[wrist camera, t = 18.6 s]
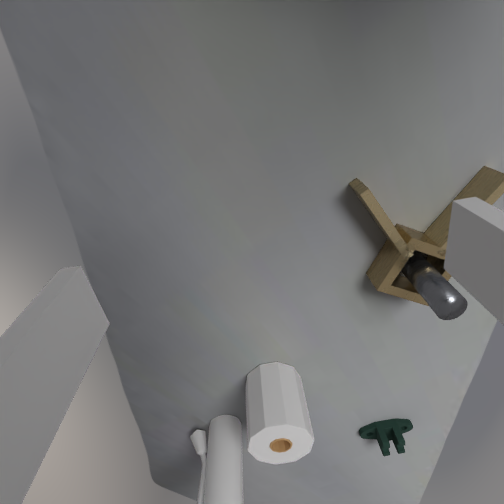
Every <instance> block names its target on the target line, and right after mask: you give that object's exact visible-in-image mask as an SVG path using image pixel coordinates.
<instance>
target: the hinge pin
mask: <svg viewBox="0 0 504 504" xmlns="http://www.w3.org/2000/svg"><path fill="white" fill-rule="evenodd" d="M401 272H402V273H403V274H404V275H405V277H406V278H407V279H408V280H409V281H410V283H411V284H412V285H413V286H414V288H415V289H416V290H417V291H418V293H419V294H420V295H421V296H422V297H423V299H424V300H425V301H426V302H427V304H428V305H429V306H430V307H431V309H432V310H433V311H434V312H435V313H436V315H437V316H438V317H439V318H440V319H443V320H451V319H455V318H457V317H459V316H460V315H461V314H463V313H464V311H465V310H466V308H467V301H466V299H465V298H464V297H463V296H462V295H461V294H460V293H459V292H458V291H457V290H456V289H455V288H454V287H453V286H452V285H451V284H450V283H449V282H448V281H447V280H446V279H445V278H444V277H443V276H442V275H441V274H440V273H439V272H438V271H437V270H436V269H435V268H434V267H433V266H432V265H431V264H430V263H429V262H428V261H427V260H426V259H425V258H424V257H423V256H422V255H421V254H420V253H419V252H418V251H417V250H414V252H413V256H411V257H410V258H409V259H408V261H407V262H406V264H405V265H404V267H403V268H402V270H401Z"/></svg>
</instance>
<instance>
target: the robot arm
mask: <svg viewBox="0 0 504 504" xmlns="http://www.w3.org/2000/svg"><path fill="white" fill-rule="evenodd" d="M444 269H445V270H446V271H447V272H448V273H449V274H450V275H451V276H452V277H453V278H454V279H455V280H456V281H457V282H459V283H460V284H461V285H462V286H463V287H464V288H465V289H466V290H467V291H468V292H469V293H470V294H471V295H472V296H473V297H474V298H475V299H476V300H477V301H479V302H480V303H481V304H482V305H483V306H484V307H485V308H486V309H487V310H488V311H489V312H490V313H491V314H492V315H493V316H494V317H495V318H496V319H497V320H499V321H500V322H501V323H502V324H503V325H504V211H502V210H500V209H498V208H496V207H494V206H492V205H490V204H489V203H487V202H485V201H483V200H481V199H479V198H477V197H471V198H465V199H459V200H454V201H453V203H452V211H451V218H450V225H449V233H448V240H447V247H446V255H445V262H444ZM109 324H110V323H109V321H108V319H107V317H106V315H105V313H104V311H103V309H102V307H101V305H100V303H99V301H98V299H97V297H96V295H95V293H94V291H93V289H92V287H91V285H90V283H89V281H88V279H87V277H86V275H85V273H84V271H83V269H82V267H81V265H79V266H73V267H68V268H62V269H59V270H58V272H57V273H56V274H55V275H54V277H52V279H51V280H50V281H49V282H48V283H47V284H46V285H45V287H44V288H43V289H42V290H41V291H40V292H39V293H38V295H37V296H36V297H35V298H34V299H33V300H32V302H31V303H30V304H29V305H28V306H27V307H26V308H25V310H24V311H23V312H22V313H21V314H20V315H19V316H18V317H17V319H16V320H15V321H14V322H13V323H12V325H11V326H10V327H9V328H8V329H7V330H6V331H5V332H4V334H3V335H2V336H1V337H0V504H22V502H23V500H24V498H25V496H26V494H27V492H28V490H29V488H30V486H31V484H32V482H33V480H34V477H35V476H36V474H37V471H38V469H39V467H40V465H41V463H42V461H43V459H44V457H45V455H46V453H47V451H48V449H49V447H50V445H51V443H52V441H53V439H54V437H55V435H56V432H57V430H58V428H59V426H60V424H61V422H62V420H63V418H64V416H65V414H66V412H67V410H68V408H69V406H70V404H71V402H72V400H73V398H74V396H75V394H76V392H77V390H78V388H79V385H80V383H81V381H82V379H83V377H84V375H85V373H86V371H87V369H88V367H89V365H90V363H91V361H92V359H93V357H94V355H95V353H96V351H97V349H98V346H99V344H100V342H101V340H102V338H103V336H104V334H105V332H106V330H107V328H108V326H109Z"/></svg>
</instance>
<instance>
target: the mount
mask: <svg viewBox="0 0 504 504" xmlns="http://www.w3.org/2000/svg"><path fill="white" fill-rule="evenodd" d="M412 428H413V425H412V423H411V421H410V420H408V419H389V420H384V421H378V422H374V423H371V424H369V425H366V426H364V427H362V428H360V429H359V433H360V436H361V438H363V439H377V441H378V443H379V446H380V448H381V451H382V454H383V456H388V455H390V452H389V448H390V444H389V440H393V443H394V445H395V447H396V450H397V452H398V454H400V453H405V449H404V445H405V440H404V438H403V436H402V434H403V433H405V432H408V431H410V430H411V429H412Z"/></svg>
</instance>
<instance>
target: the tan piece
mask: <svg viewBox="0 0 504 504" xmlns="http://www.w3.org/2000/svg"><path fill="white" fill-rule="evenodd" d="M349 185H350V186H351V187H352V189H353V190H354V192H355V193H356V195H357V196H358V197H359V199H360V200H361V202H362V203H363V205H364V206H365V207H366V209H367V210H368V212H369V213H370V215H371V216H372V217H373V219H374V220H375V222H376V223H377V225H378V226H379V227H380V229H381V230H382V232H383V233H384V235H385V236H386V237H387V240H386V242H385V244H384V245H383V247H382V248H381V250H380V252H379V253H378V255H377V256H376V258H375V260H374V261H373V263H372V264H371V266H370V268H369V269H368V271H367V272H366V274H367V276H368V277H369V279H370V280H371V282H372V283H373V285H374V287H375V288H376V290H377V291H380V292H384V293H387V294H390V295H394V296H397V297H400V298H403V299H407V300H410V301H413V302H417V303H420V304H423V305H427V306H429V305H428V304H427V302H426V301H425V300H424V299H423V297H422V296H421V295H420V294H419V293H418V291H417V290H416V289H415V288H414V286H413V285H412V284H411V283H410V281H409V280H408V279H407V278H406V277H404V276H401V275H398V274H399V272H400V271H401V270H402V268H403V267H404V265H405V264H406V262H407V261H408V259H409V258H410V257H411V256H413V252H414V250H417V251H420V252H423V253H426V254H429V255H428V256H427V258H426V260H427V261H428V262H429V263H430V264H431V265H432V266H433V267H434V268H435V269H436V270H437V271H438V272H439V273H440V274H441V275H442V276H443V277H444V278H445V279H446V280H447V281H448V280H449V279H450V278H451V275H450V274H449V273H448V272H447V271H446V270H445V269H444V262H445V255H446V247H447V240H448V233H449V225H450V218H451V211H452V203H453V201H454V200H459V199H465V198H471V197H477V198H479V199H481V200H483V201H485V202H487V203H489V204H490V205H492V204H493V203H494V202H495V201H496V200H497V199H498V198H499V197H500V196H501V195H502V194H503V193H504V173H501V172H499V171H496V170H494V169H491V168H488V167H486V166H484V167H483V168H482V169H481V170H480V171H479V172H478V173H477V175H476V176H475V177H474V178H473V179H472V180H471V181H470V182H469V183H468V184H467V186H466V187H465V188H464V189H463V190H462V191H461V192H460V193H459V194H458V196H457V197H456V198H455V199H454V200H453V201H452V202H451V203H450V204H449V206H448V207H447V208H446V209H445V210H444V211H443V212H442V213H441V214H440V216H439V217H438V218H437V219H436V220H435V221H434V222H433V223H432V224H431V226H430V227H429V228H428V229H427V230H426V231H425V232H424V233H422V232H419V231H417V230H414V229H411V228H408V227H405V226H403V225H400V224H396V226H395V227H394V225H393V224H392V222H391V221H390V219H389V218H388V216H387V215H386V213H385V212H384V210H383V209H382V207H381V206H380V204H379V203H378V202H377V200H376V199H375V197H374V196H373V194H372V193H371V191H370V190H369V188H368V187H366V186H365V185H364V184H363V183H362V182H361V181H360V180H359V179H357V178H356V179H354V180H353V181H352V182H350V183H349Z"/></svg>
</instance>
